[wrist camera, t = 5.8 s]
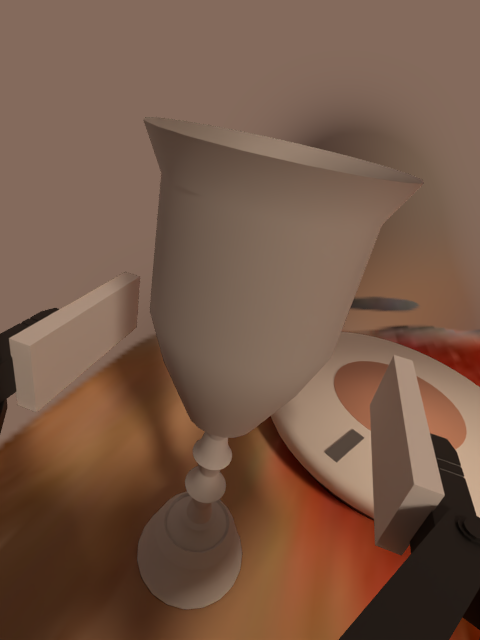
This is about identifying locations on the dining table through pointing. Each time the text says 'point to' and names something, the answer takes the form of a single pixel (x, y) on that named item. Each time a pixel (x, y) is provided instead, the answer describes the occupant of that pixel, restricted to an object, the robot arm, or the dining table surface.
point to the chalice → (246, 310)
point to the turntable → (354, 416)
